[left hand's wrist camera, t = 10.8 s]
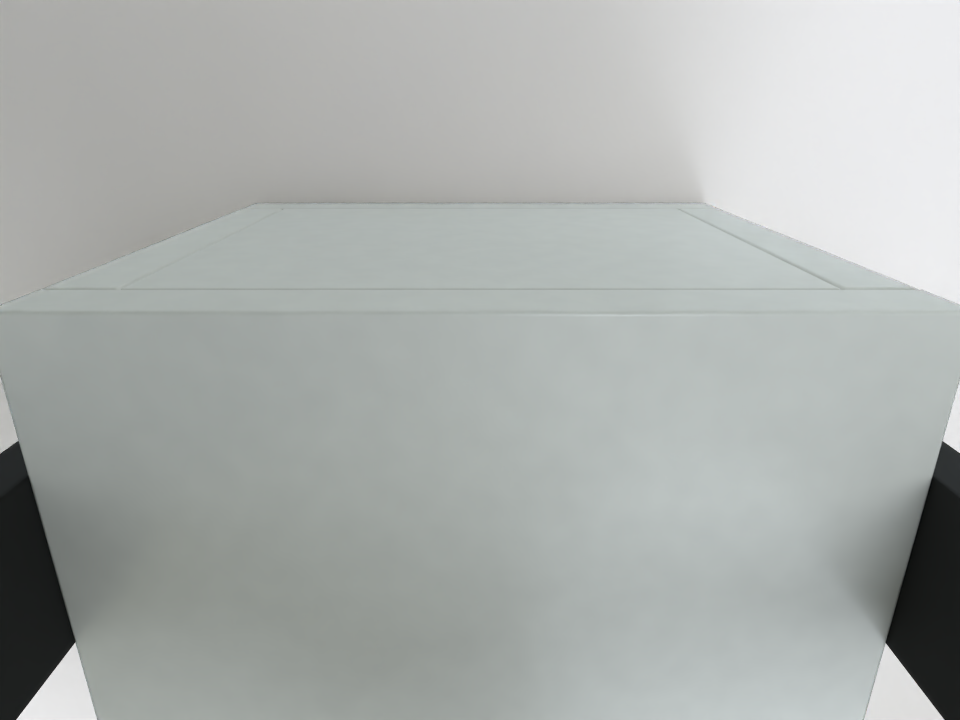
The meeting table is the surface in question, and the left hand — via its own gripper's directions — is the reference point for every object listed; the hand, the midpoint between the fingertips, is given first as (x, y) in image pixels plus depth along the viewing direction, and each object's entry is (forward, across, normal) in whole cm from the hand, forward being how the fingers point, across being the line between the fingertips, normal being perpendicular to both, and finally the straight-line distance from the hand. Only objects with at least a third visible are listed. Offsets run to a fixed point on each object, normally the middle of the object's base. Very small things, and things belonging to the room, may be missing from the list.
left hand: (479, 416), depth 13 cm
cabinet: (+5, 0, -7) cm, 9 cm away
